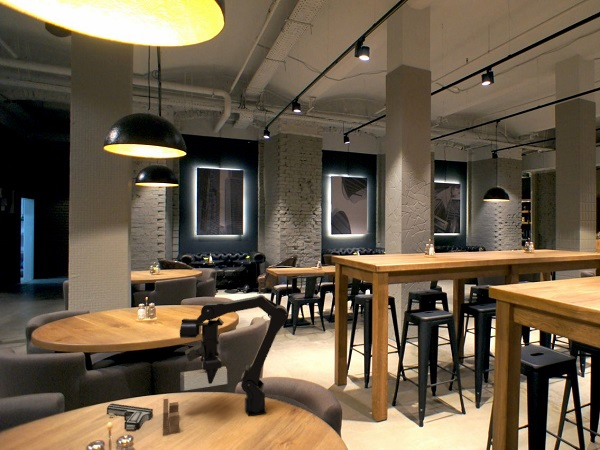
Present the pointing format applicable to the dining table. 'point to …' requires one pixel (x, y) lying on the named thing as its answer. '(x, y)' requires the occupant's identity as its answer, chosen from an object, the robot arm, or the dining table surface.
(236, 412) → the dining table surface
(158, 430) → the dining table surface
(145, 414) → the handgun
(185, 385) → the rail
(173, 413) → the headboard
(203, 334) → the robot arm
